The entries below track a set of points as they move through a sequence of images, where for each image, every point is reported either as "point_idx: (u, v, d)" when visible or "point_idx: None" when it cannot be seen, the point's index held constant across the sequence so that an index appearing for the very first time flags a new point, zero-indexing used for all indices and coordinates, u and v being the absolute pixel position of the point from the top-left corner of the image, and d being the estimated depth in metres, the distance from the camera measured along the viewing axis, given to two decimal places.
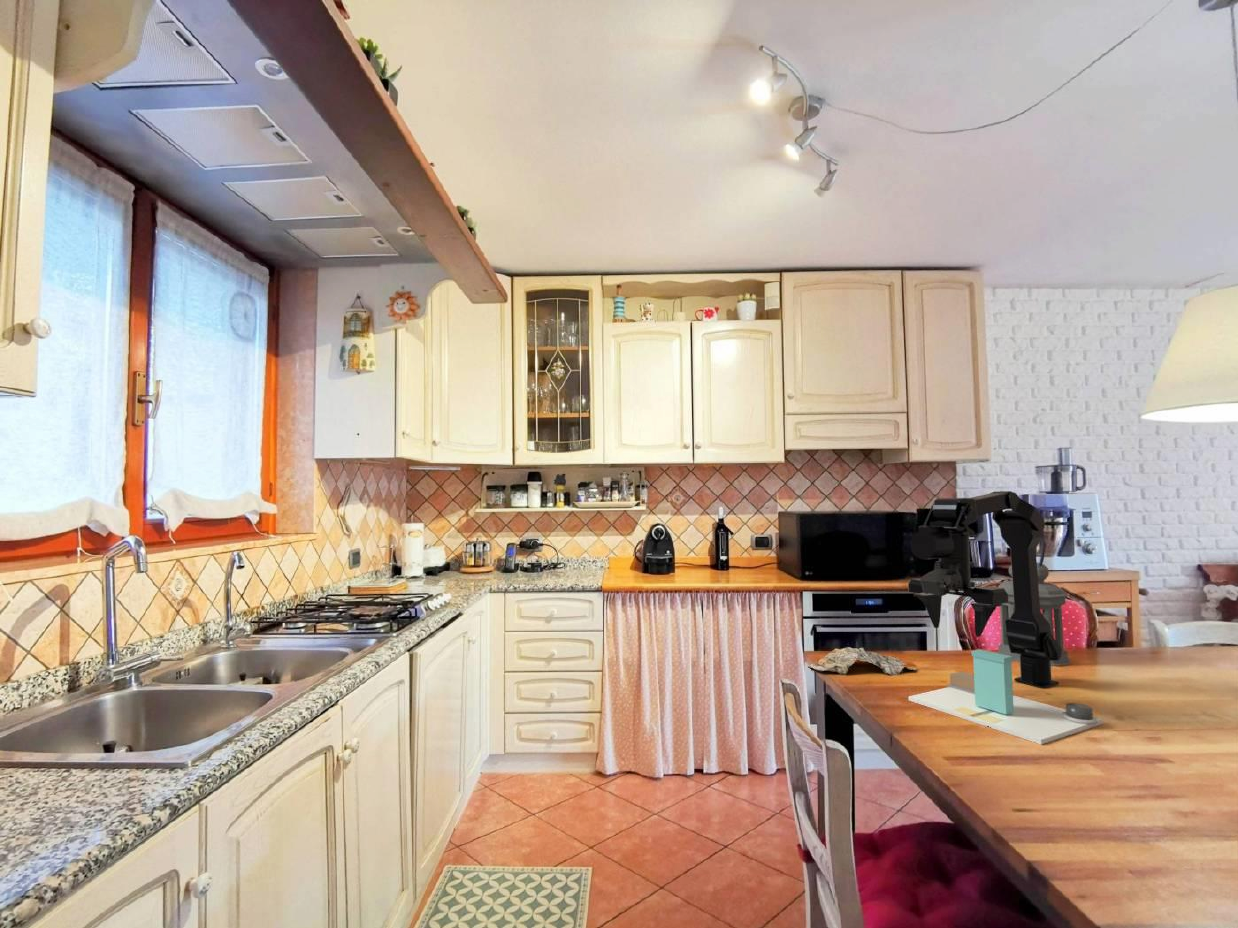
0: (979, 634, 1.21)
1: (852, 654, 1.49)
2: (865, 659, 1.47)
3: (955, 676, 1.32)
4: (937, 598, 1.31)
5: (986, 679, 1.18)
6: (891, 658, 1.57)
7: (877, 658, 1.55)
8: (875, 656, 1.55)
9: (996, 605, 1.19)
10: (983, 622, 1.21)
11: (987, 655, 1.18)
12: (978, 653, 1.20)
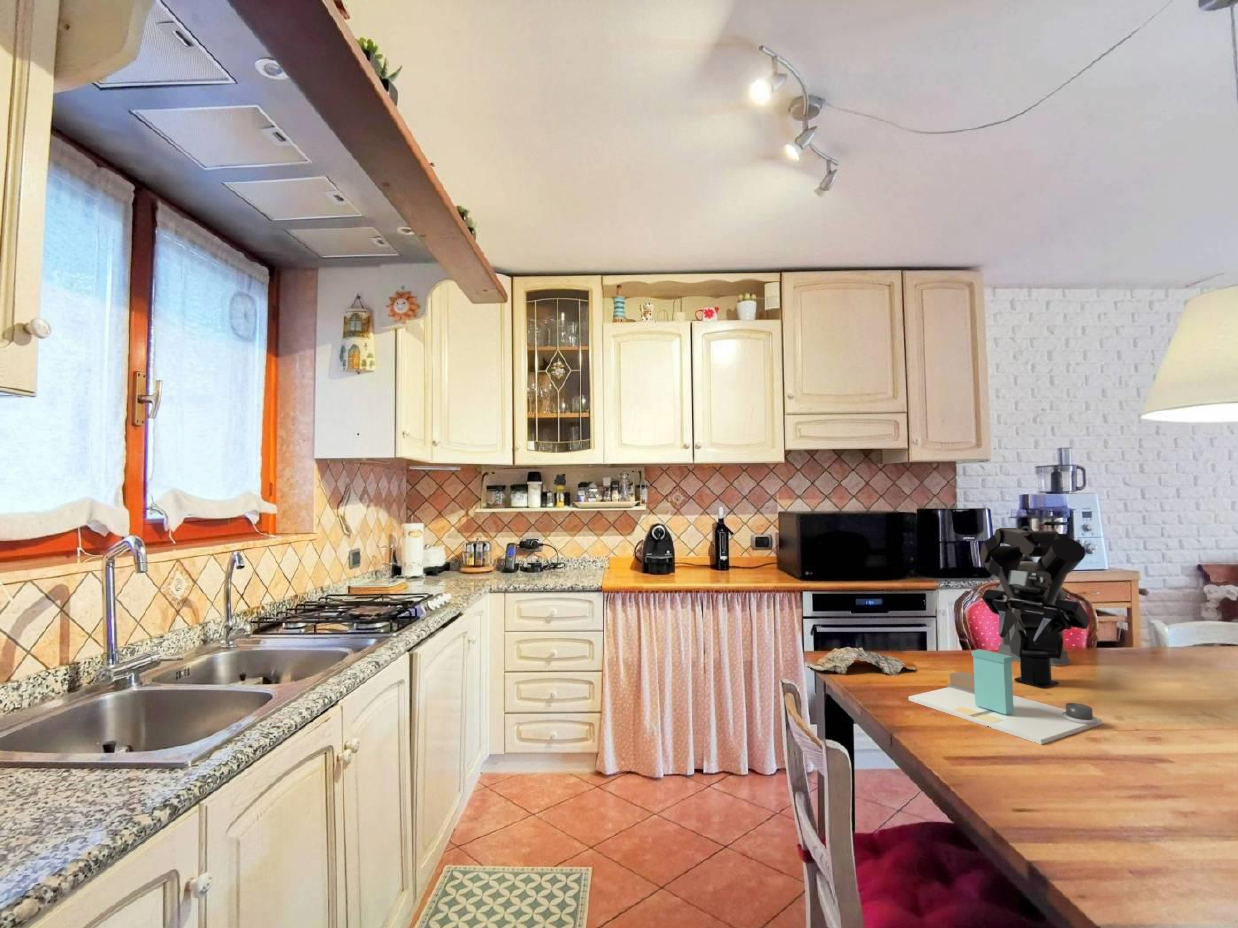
0: (1037, 641, 1.20)
1: (851, 654, 1.49)
2: (864, 659, 1.47)
3: (955, 676, 1.32)
4: (1012, 617, 1.29)
5: (986, 679, 1.18)
6: (890, 658, 1.57)
7: (876, 658, 1.55)
8: (874, 656, 1.56)
9: (1067, 622, 1.19)
10: (1046, 632, 1.20)
11: (987, 655, 1.18)
12: (978, 653, 1.20)
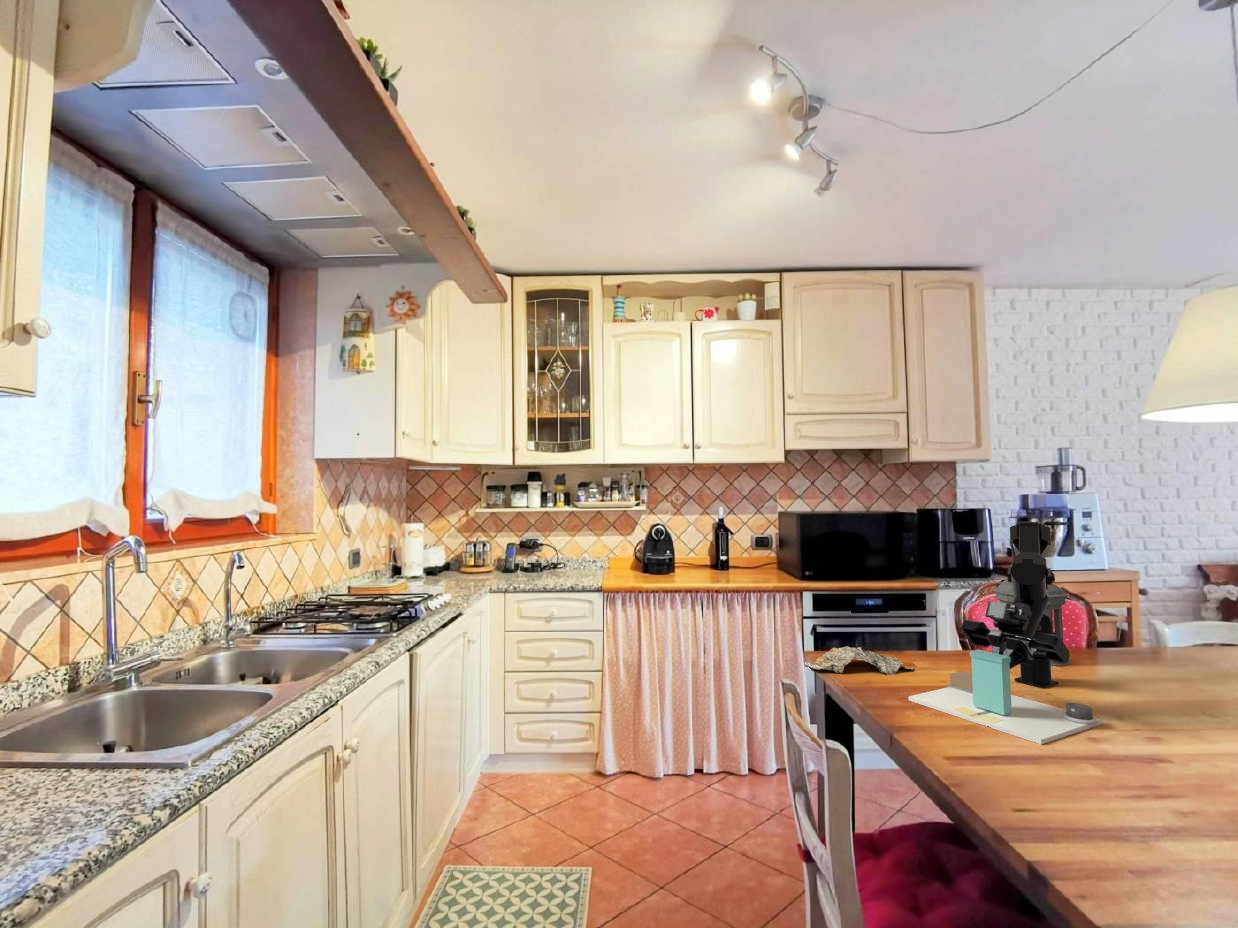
0: None
1: (849, 653, 1.50)
2: (861, 658, 1.48)
3: (955, 676, 1.32)
4: None
5: (984, 680, 1.18)
6: (889, 658, 1.58)
7: (875, 657, 1.55)
8: (873, 655, 1.56)
9: (1029, 653, 1.18)
10: None
11: (985, 655, 1.18)
12: (976, 653, 1.19)
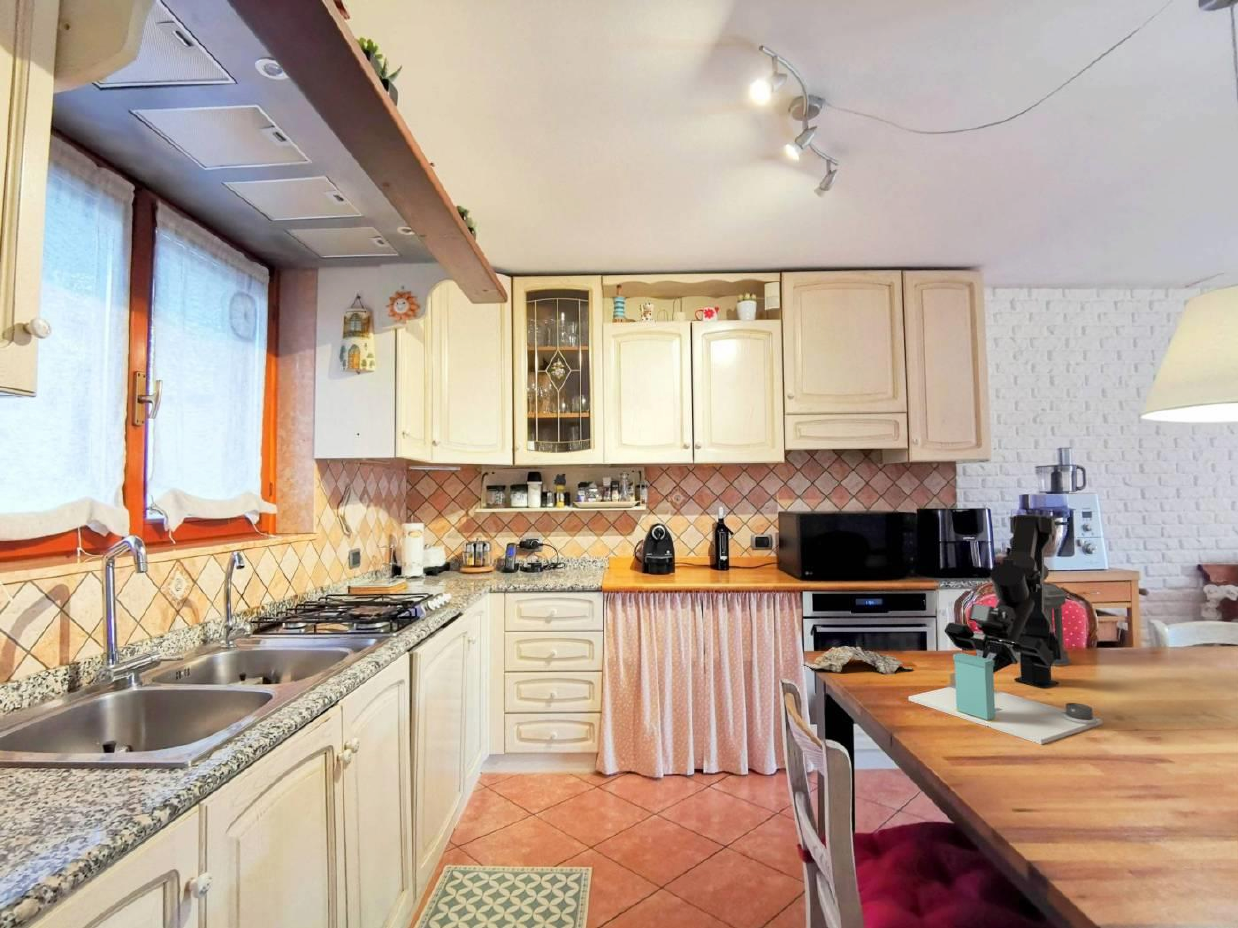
0: None
1: (847, 653, 1.50)
2: (860, 658, 1.48)
3: None
4: None
5: (968, 684, 1.15)
6: (888, 657, 1.58)
7: (874, 657, 1.56)
8: (872, 655, 1.56)
9: (1013, 657, 1.16)
10: None
11: (968, 659, 1.15)
12: (959, 657, 1.17)
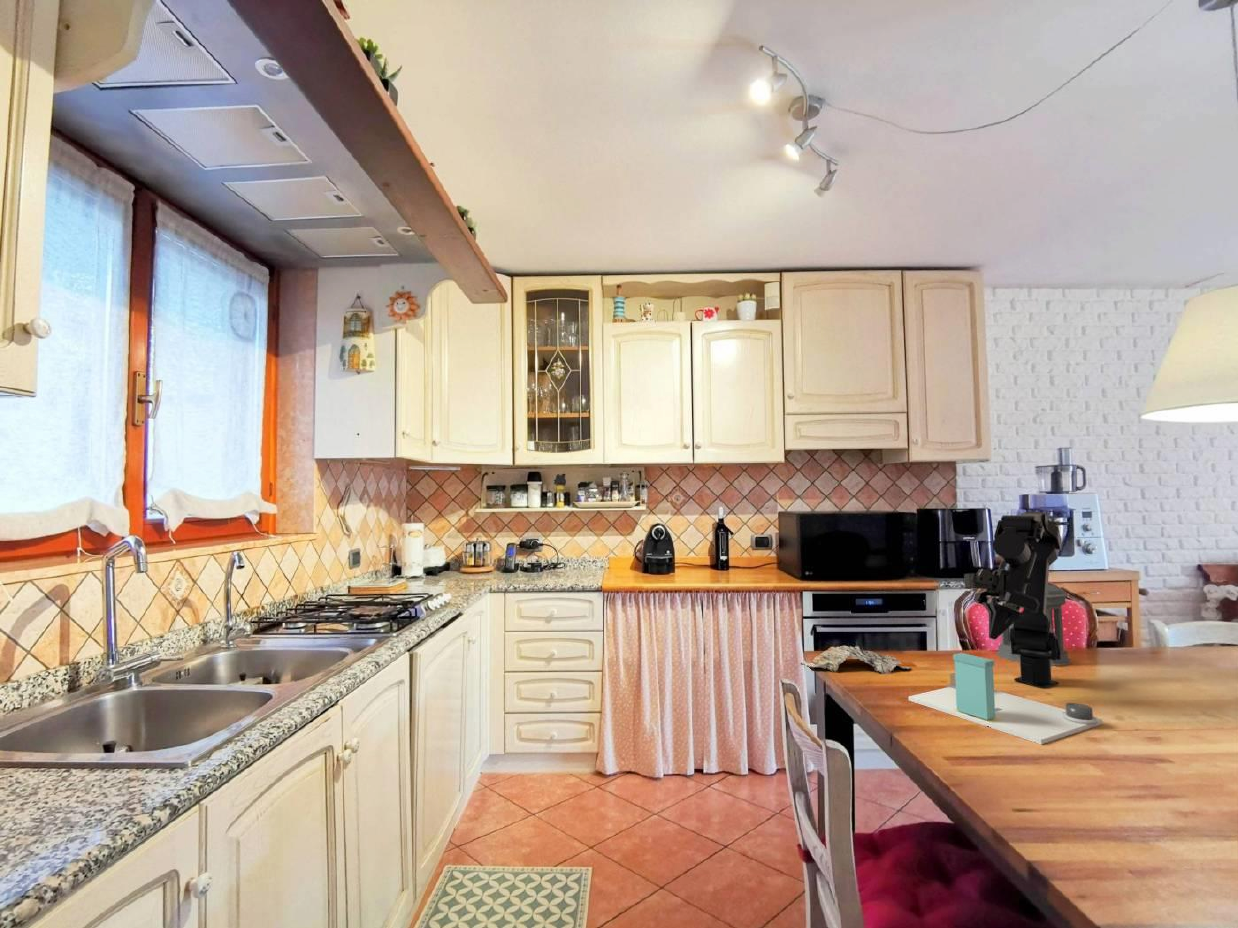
0: (993, 636, 1.27)
1: (844, 652, 1.51)
2: (857, 657, 1.49)
3: None
4: None
5: (968, 684, 1.15)
6: (888, 657, 1.58)
7: (872, 657, 1.56)
8: (870, 655, 1.57)
9: (1012, 610, 1.25)
10: (999, 626, 1.26)
11: (968, 659, 1.15)
12: (959, 657, 1.17)
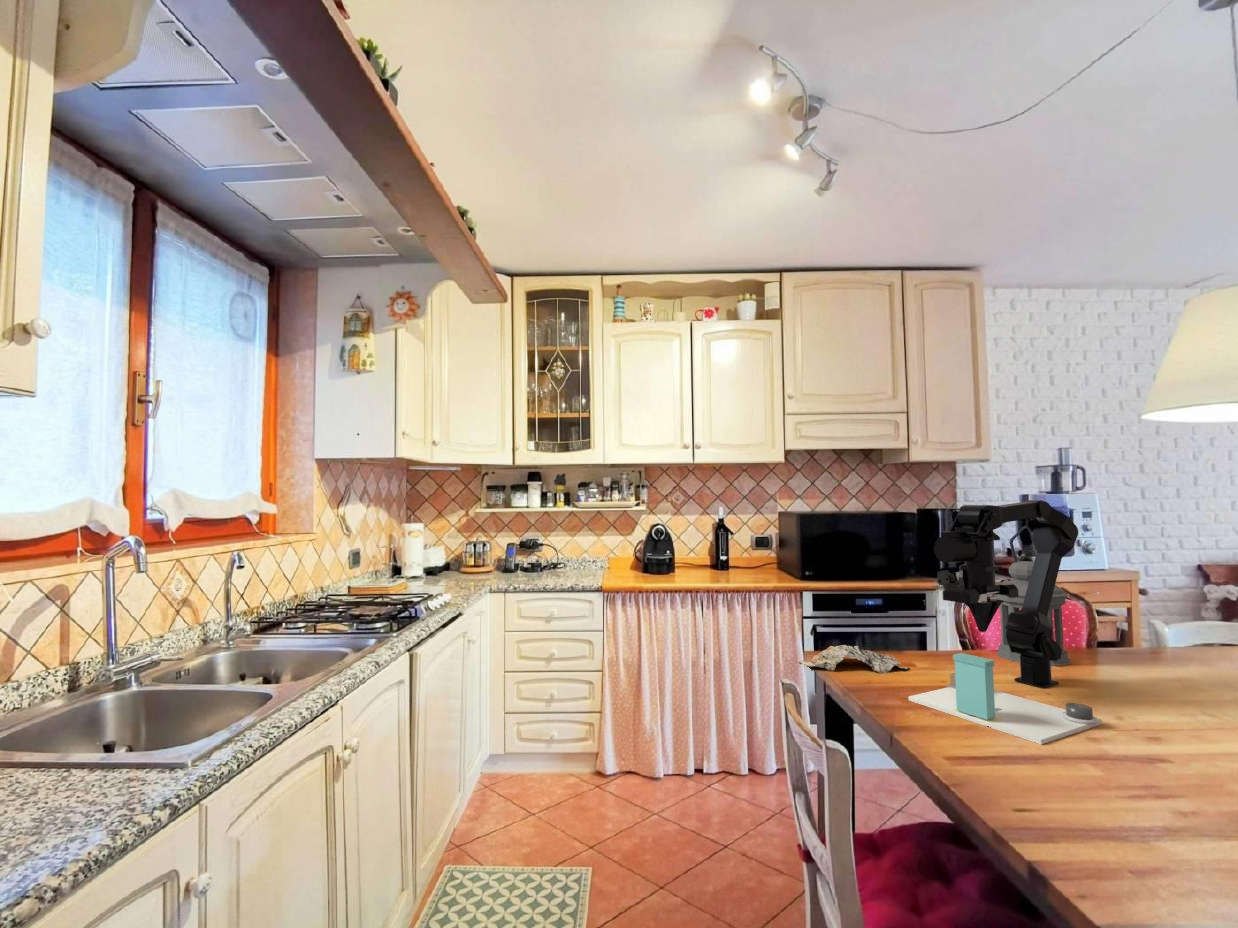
0: (980, 629, 1.33)
1: (842, 651, 1.51)
2: (854, 656, 1.49)
3: None
4: None
5: (968, 684, 1.15)
6: (887, 657, 1.58)
7: (871, 656, 1.57)
8: (869, 654, 1.57)
9: (974, 602, 1.31)
10: (979, 618, 1.32)
11: (968, 659, 1.15)
12: (959, 657, 1.17)
